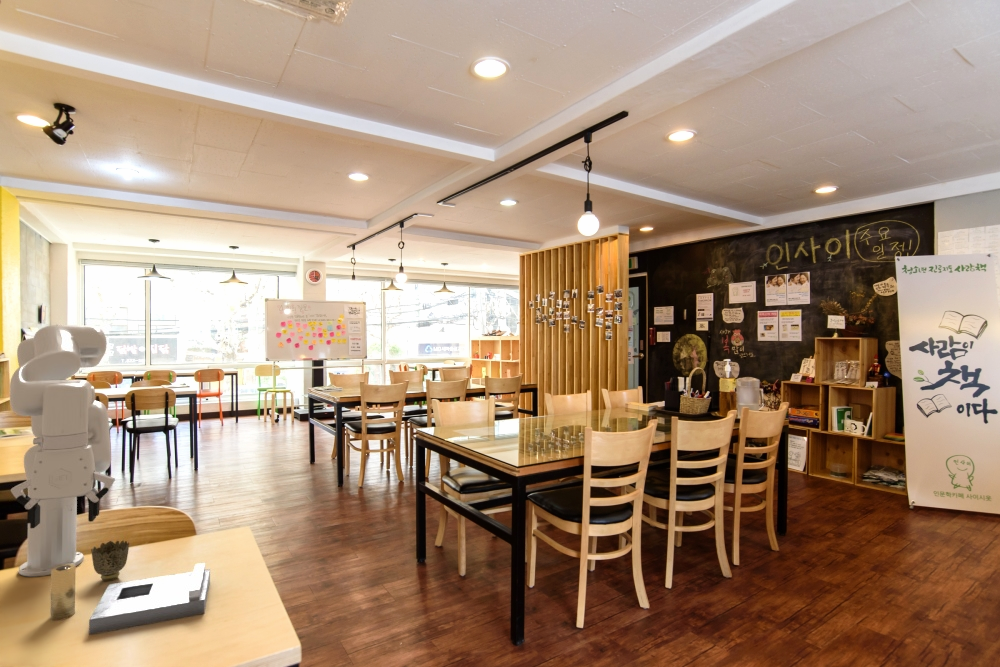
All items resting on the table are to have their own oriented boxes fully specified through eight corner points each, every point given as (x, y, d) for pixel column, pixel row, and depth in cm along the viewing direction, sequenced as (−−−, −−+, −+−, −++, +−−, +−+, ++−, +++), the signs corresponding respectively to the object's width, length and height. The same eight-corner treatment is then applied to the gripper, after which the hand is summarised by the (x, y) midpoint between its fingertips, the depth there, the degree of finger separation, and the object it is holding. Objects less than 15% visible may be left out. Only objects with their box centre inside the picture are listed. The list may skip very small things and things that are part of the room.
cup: (108, 587, 124) (109, 553, 124) (82, 584, 126) (83, 550, 126) (136, 573, 131) (136, 541, 131) (111, 570, 133) (112, 538, 133)
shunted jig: (109, 597, 119) (109, 575, 119) (209, 581, 128) (210, 560, 128) (88, 634, 105) (89, 609, 105) (204, 613, 113) (204, 590, 113)
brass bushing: (54, 612, 113) (54, 565, 113) (77, 608, 115) (78, 562, 115) (47, 622, 109) (48, 573, 109) (71, 617, 111) (72, 570, 111)
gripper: (4, 448, 105) (3, 535, 105) (110, 441, 112) (109, 522, 112) (19, 441, 112) (18, 523, 112) (118, 435, 119) (118, 512, 119)
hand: (64, 522), depth 112 cm, fingers open, 9 cm apart
